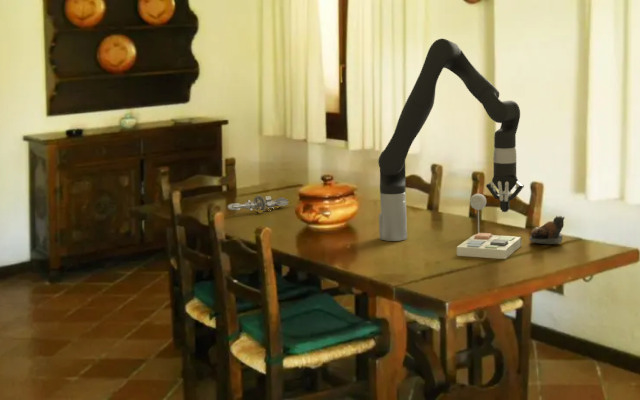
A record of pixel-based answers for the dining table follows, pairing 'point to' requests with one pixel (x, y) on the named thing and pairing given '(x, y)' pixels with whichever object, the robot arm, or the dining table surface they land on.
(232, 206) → the spaceship
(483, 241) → the key slate
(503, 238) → the key sage
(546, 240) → the brown cat figurine
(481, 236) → the key terracotta
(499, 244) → the key charcoal
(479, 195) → the lollipop
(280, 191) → the dining table surface
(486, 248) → the keypad
